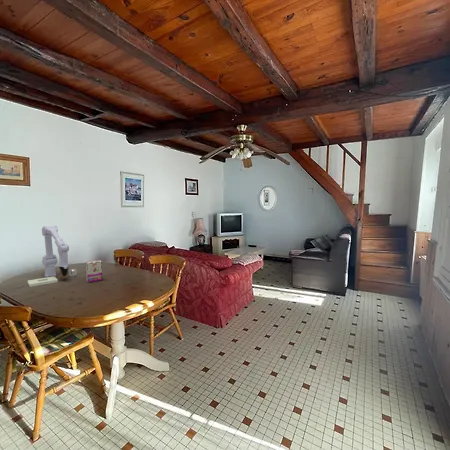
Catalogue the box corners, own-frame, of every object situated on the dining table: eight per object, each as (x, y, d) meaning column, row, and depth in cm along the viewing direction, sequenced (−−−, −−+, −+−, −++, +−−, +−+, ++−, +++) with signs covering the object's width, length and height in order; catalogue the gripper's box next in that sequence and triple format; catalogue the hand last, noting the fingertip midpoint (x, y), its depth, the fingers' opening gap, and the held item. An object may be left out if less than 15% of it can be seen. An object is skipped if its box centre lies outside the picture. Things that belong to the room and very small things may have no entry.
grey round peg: (68, 276, 212) (68, 269, 212) (75, 274, 216) (75, 268, 216) (70, 277, 208) (70, 270, 208) (77, 276, 212) (77, 269, 212)
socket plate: (27, 283, 192) (27, 280, 192) (54, 278, 204) (54, 276, 204) (29, 286, 183) (29, 284, 183) (57, 282, 196) (57, 279, 196)
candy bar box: (101, 278, 207) (100, 260, 206) (102, 280, 203) (102, 261, 202) (86, 281, 200) (85, 261, 199) (87, 282, 196) (87, 263, 195)
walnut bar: (60, 277, 201) (59, 270, 200) (67, 276, 204) (66, 269, 204) (60, 278, 199) (60, 271, 198) (67, 277, 202) (67, 270, 202)
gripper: (71, 260, 198) (71, 276, 199) (67, 257, 208) (67, 272, 209) (61, 261, 193) (61, 278, 194) (57, 258, 203) (57, 274, 204)
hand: (64, 275), depth 201 cm, fingers closed on walnut bar, 3 cm apart
